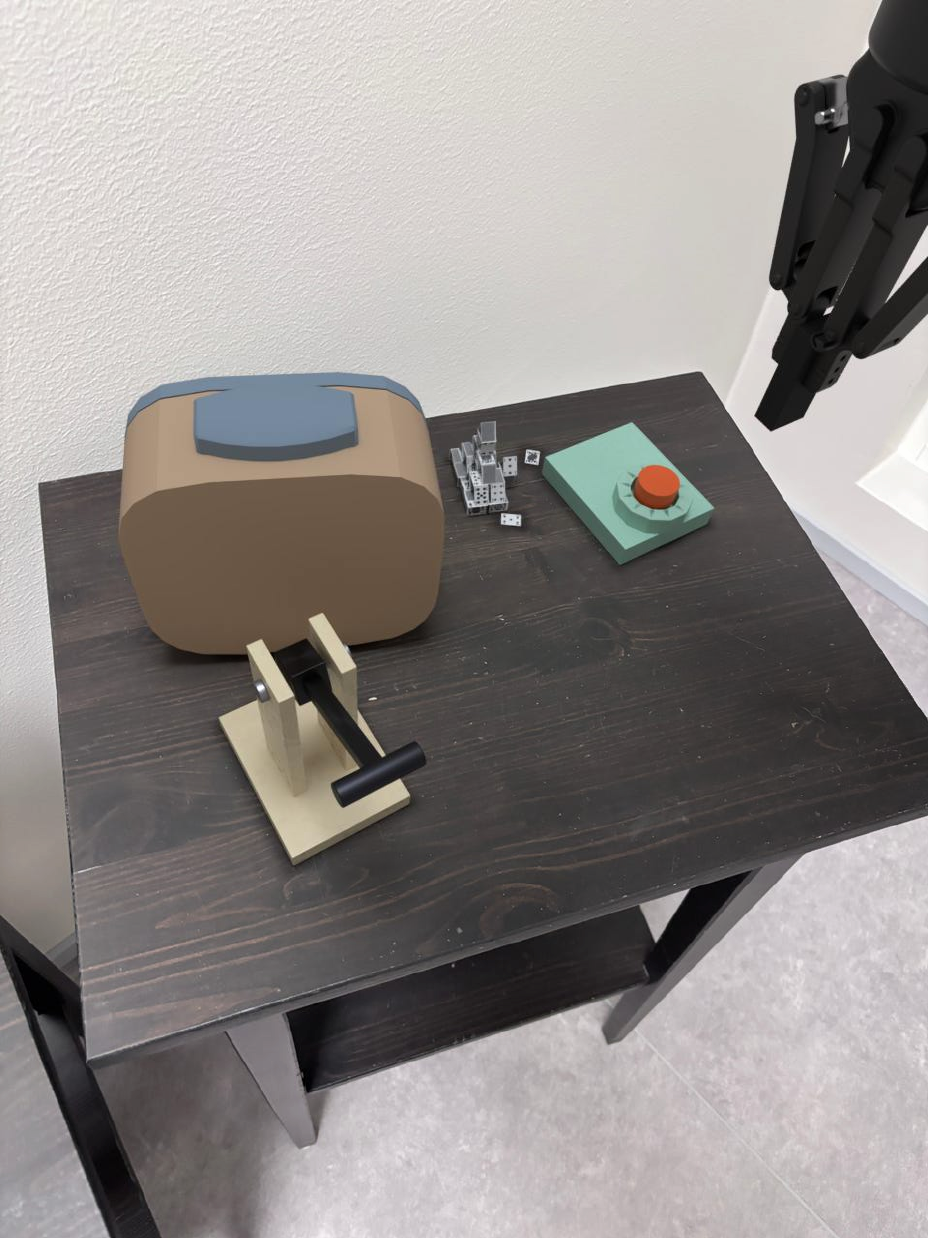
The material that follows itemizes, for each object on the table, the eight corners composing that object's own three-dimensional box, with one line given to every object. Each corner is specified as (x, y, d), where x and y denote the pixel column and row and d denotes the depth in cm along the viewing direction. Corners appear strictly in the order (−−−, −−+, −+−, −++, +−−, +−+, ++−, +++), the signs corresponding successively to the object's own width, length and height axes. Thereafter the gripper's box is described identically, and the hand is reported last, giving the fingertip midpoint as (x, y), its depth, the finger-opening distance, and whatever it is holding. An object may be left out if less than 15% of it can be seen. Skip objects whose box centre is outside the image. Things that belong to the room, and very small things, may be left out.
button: (682, 500, 79) (688, 486, 77) (650, 515, 77) (655, 501, 76) (657, 473, 80) (662, 459, 79) (624, 487, 79) (629, 473, 77)
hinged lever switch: (409, 804, 65) (419, 702, 52) (293, 866, 61) (274, 773, 49) (331, 675, 70) (323, 556, 58) (221, 727, 67) (188, 611, 55)
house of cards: (564, 521, 81) (581, 460, 74) (468, 532, 79) (477, 470, 73) (538, 448, 86) (551, 385, 79) (447, 457, 84) (454, 393, 78)
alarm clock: (416, 551, 77) (431, 345, 60) (432, 646, 72) (453, 451, 55) (165, 569, 74) (102, 357, 56) (162, 669, 69) (92, 470, 51)
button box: (708, 526, 82) (723, 496, 79) (621, 567, 78) (632, 538, 75) (626, 438, 87) (636, 407, 84) (541, 473, 84) (548, 442, 81)
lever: (429, 776, 49) (424, 745, 48) (346, 819, 47) (338, 789, 46) (334, 657, 58) (327, 628, 56) (260, 690, 56) (251, 661, 54)
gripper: (1209, 18, 34) (901, 467, 53) (941, -114, 39) (752, 334, 59) (1085, 53, 31) (809, 512, 50) (818, -94, 37) (662, 369, 56)
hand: (778, 416), depth 55 cm, fingers closed
